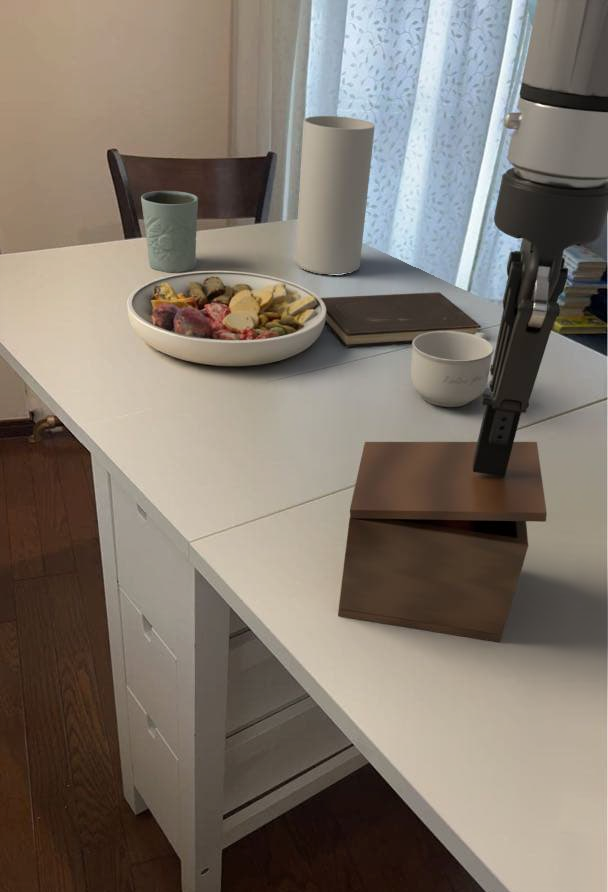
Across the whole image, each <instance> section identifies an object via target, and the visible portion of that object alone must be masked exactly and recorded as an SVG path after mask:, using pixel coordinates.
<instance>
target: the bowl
mask: <svg viewBox="0 0 608 892" xmlns="http://www.w3.org/2000/svg"><path fill="white" fill-rule="evenodd" d="M321 298H322V297H320V296H318V295H317V294H316V293H315V292H313V291H312V290H310V289H308V288H307V287H305V286H303V285H301V284H297V283H295V282H292V281H289V280H286V279H283V278H279V277H276V276H270V275H267V274H261V273H254V272H247V271H246V272H245V271H234V270H201V271H187V272H179V273H175V274H170V275H166V276H161V277H159V278H155V279H153V280H149V281H148V282H145V283H143V284H141V285H140V286H138V287H136V288H135V289H134V290H133V291H132V292H131V293H130V294H129V296H128V298H127V301H126V305H127V315H128V319H129V322H130V324H131V326H132V328H133V330H134V331H135V332H136V334H137V335H138V336H139V338H141V340H143V341H144V342H145V343H146V344H147V345H149V346H150V347H152V348H154V349H155V350H157V351H159V352H161V353H163V354H165V355H169V356H170V357H173V358H176V359H179V360H183V361H187V362H191V363H195V364H201V365H209V366H210V365H211V366H216V367H217V366H218V367H249V366H259V365H266V364H271V363H275V362H278V361H280V362H281V361H283V360H286V359H289V358H292V357H294V356H296V355H298V354H300V353H302V352H304V351H306V350H307V349H308V348H309V347H311V345H313V344H314V343H315V342H316V341H317V340H318V338H319V337H320V335H321V333H322V332H323V329H324V327H325V325H326V324H325V320H326V306H325V304H324V302H323V301H322V300H321Z"/></svg>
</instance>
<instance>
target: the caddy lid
mask: <svg viewBox="0 0 608 892" xmlns="http://www.w3.org/2000/svg"><path fill="white" fill-rule="evenodd" d="M477 442H478V441H365V442H364V444H363V448H362V453H361V458H360V462H359V467H358V470H357V471H358V472H357V475H356V480H355V484H354V490H353V493H352V498H351V502H350V508H349V519H350V518H377V519H431V520H485V521H526V522H542V523H544V522H545V523H546V521H547V504H546V499H545V491H544V484H543V477H542V469H541V462H540V461H541V460H540V454H539V447H538V442H537V441H514V442H513V446H512V450H511V454H510V458H509V462H508V466H507V470H506V474H505V476H498V475H491V474H484V473H477V472H473V460H474V456H475V451H476V447H477Z"/></svg>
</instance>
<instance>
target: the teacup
mask: <svg viewBox="0 0 608 892" xmlns="http://www.w3.org/2000/svg"><path fill="white" fill-rule="evenodd" d="M411 346H412V352H411V353H412V354H411V365H410V382H411V385H412V387H413V389H414V390H415V392H416V393H417V394H418V395H420V396H421V398H422V399H424V400H425V402H427V403H430V404H431V405H435V406H438V407H443V408H444V407H445V408H457V407H462V406H465V405H467V404H469V403H470V402H471V401H473V400H475V399H477V398H479V397H480V396H481V395H482V394H483V393H484V391H485V389H486V386H487V383H488V379H489V374H490V368H491V365H492V357H493V355H494V353H495V347H494V345H493V344H492V343H491V342H490V336H489V335H488V334H487V333H484V332H479V331H478V332H477V333H476V334H475V335H473V334H469V333H464V332H457V331H434V332H428V333H424V334H421V335H419V336H417V337H416V338H414V340H413V342H412V343H411Z"/></svg>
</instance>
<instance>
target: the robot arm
mask: <svg viewBox="0 0 608 892" xmlns="http://www.w3.org/2000/svg"><path fill="white" fill-rule="evenodd" d="M527 5H528V6H527V12H528V17H529V18H528V19H529V22H530V25H531V30H530V37H529V42H528V47H527V52H526V56H525V62H524V67H523V73H522V77H521V86H520V90H519V98H518V102H517V107H518V109H519V112H507V113H506V115H505V116H504V121H503V126H504V127H505V128H506V129H508V130H513V132H512V133H511V135H510V139H509V145H508V151H507V155H506V159H507V161H508V162H509V164H511V165H512V166H513V167H512V168H511V167H510V168H508V169H507V170H506V171H505V172H504V173H503V174H502V176H501V180H500V185H499V190H498V196H497V200H496V205H495V210H494V214H493V222H494V225H495V226H496V227H495V228H497V229H498V230H499V231H500V232H501V233H503V234H505V235H507V236H510V237H512V238H514V239H521V243H520V247H519V248H520V249H519V250H514V251H510V252H509V255H508V260H507V265H506V275H507V279H506V284H505V289H504V294H503V298H502V308H503V310H502V314H501V320H500V325H499V330H498V335H497V340H496V345H495V348H494V354H493V360H492V363H491V364H490V370H489V374H490V376H491V380H490V381H489V383H488V384H489V385H488V388H489V393H492V394H488V393H482V394H481V401H480V405H481V406H485V407H484V411H483V416H482V421H481V424H480V429H479V433H478V438H477V441H476V442H477V447H476V451H475V456H474V460H473V472H477V473H484V474H491V475H498V476H505V474H506V470H507V466H508V462H509V458H510V454H511V450H512V446H513V442H515V439H516V434H517V430H518V426H519V423H520V419H521V415H522V413H523V414H525V413H526V412H527V410H528V409H529V406H530V399H531V396H532V393H533V391H534V386H535V383H536V379H537V377H538V373H539V370H540V367H541V364H542V361H543V358H544V354H545V352H546V351H545V350H546V348H547V344H548V342H549V338H550V336H551V332H552V330H553V328H554V325H555V323H556V321H557V318H558V317H560V312H561V309H560V302H558V300H559V296H560V295H561V294H563V292H564V290H565V287H566V283H567V279H568V275H569V268H568V267H564V266H565V257H563V255H564V251H565V249H567V248H569V247H572V246H578V247H581V246H587V245H591V244H593V243H594V242H596V241H597V240H598V239H599V238H600V237H601V236H602V234H603V231H604V227H605V224H606V223H605V222H606V221H607V220H606V219H607V216H608V0H527Z"/></svg>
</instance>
